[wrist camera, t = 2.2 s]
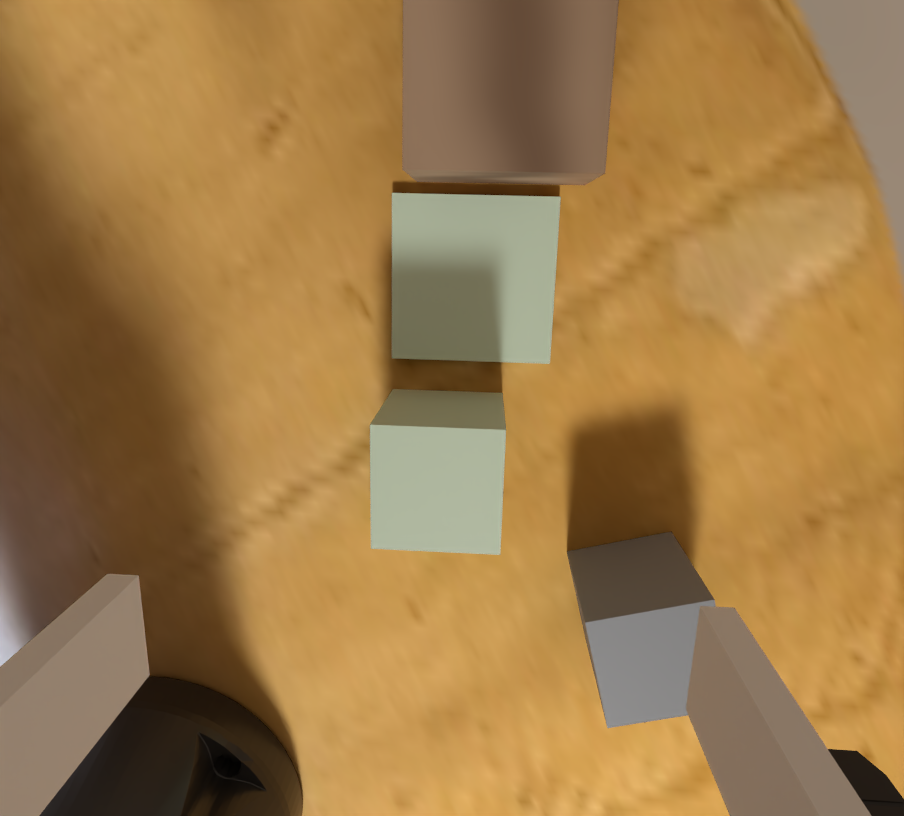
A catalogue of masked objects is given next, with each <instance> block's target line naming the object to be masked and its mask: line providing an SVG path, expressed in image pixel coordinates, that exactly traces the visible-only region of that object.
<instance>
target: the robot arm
mask: <svg viewBox="0 0 904 816" xmlns="http://www.w3.org/2000/svg"><path fill="white" fill-rule="evenodd" d="M149 675H150V673H149V664H148V655H147V646H146V637H145V628H144V619H143V610H142V601H141V592H140V582H139V575H123V574H106V575H105V576H104V577H103V578H102V579H101V580H100V581H98V582H97V583H96V584H95V585H94V586H93V587H92V588H90V589H89V590H88V591H87V592H86V593H85V594H83V595H82V596H81V597H80V598H79V599H78V600H77V601H75V602H74V603H73V604H72V605H71V606H70V607H69V608H67V609H66V610H65V611H64V612H63V613H62V614H60V615H59V616H58V617H57V618H56V619H55V620H54V621H52V622H51V623H50V624H49V625H48V626H47V627H46V628H44V629H43V630H42V631H41V632H40V633H39V634H37V635H36V636H35V637H34V638H33V639H32V640H31V641H29V642H28V643H27V644H26V645H25V646H24V647H23V648H21V649H20V650H19V651H18V652H17V653H16V654H14V655H13V656H12V657H11V658H10V659H9V660H8V661H6V662H5V663H4V664H3V665H2V666H1V667H0V816H302V794H301V788H300V784H299V780H298V777H297V774H296V771H295V768H294V766H293V764H292V762H291V760H290V758H289V756H288V754H287V753H286V751H285V749H284V748H283V746H282V745H281V743H280V742H279V741H278V739H277V738H276V737H275V736H274V735H273V733H272V732H271V731H270V730H269V729H268V728H267V727H266V726H265V725H264V724H263V723H262V722H261V721H260V720H259V719H258V718H256V717H255V716H254V715H253V714H252V713H250V712H249V711H248V710H246V709H245V708H244V707H242V706H241V705H239V704H238V703H236V702H234V701H233V700H231V699H229V698H227V697H225V696H223V695H221V694H219V693H217V692H215V691H213V690H210V689H208V688H205V687H202V686H200V685H197V684H193V683H190V682H186V681H181V680H177V679H170V678H162V677H149ZM686 711H687V713H688V715H689V718H690V720H691V723H692V725H693V727H694V730H695V732H696V735H697V737H698V740H699V742H700V744H701V747H702V749H703V752H704V754H705V756H706V759H707V761H708V764H709V766H710V769H711V771H712V773H713V776H714V778H715V781H716V783H717V785H718V788H719V790H720V793H721V795H722V798H723V800H724V802H725V805H726V807H727V810H728V812H729V814H730V816H904V799H903V798H902V796H901V795H900V793H899V792H898V791H897V789H896V788H895V787H894V785H893V784H892V783H891V781H890V780H889V779H888V777H887V776H886V775H885V774H884V773H883V772H882V771H880V770H879V769H878V768H877V767H876V766H874V765H873V764H872V763H871V762H870V761H868V760H867V759H866V758H865V757H863V756H862V755H861V754H860V753H859V752H857V751H848V750H833V749H827V748H826V746H825V744H824V743H823V741H822V740H821V738H820V737H819V735H818V734H817V732H816V731H815V729H814V728H813V726H812V725H811V723H810V722H809V720H808V719H807V717H806V716H805V714H804V713H803V711H802V710H801V708H800V707H799V705H798V704H797V702H796V700H795V699H794V697H793V696H792V694H791V693H790V691H789V690H788V688H787V687H786V685H785V684H784V682H783V681H782V679H781V678H780V676H779V675H778V673H777V672H776V670H775V669H774V667H773V666H772V664H771V663H770V661H769V660H768V658H767V657H766V655H765V653H764V652H763V650H762V649H761V647H760V646H759V644H758V643H757V641H756V640H755V638H754V637H753V635H752V634H751V632H750V631H749V629H748V628H747V626H746V625H745V623H744V622H743V620H742V619H741V617H740V616H739V614H738V613H737V611H736V609H735V608H729V607H711V606H700V610H699V617H698V624H697V631H696V638H695V645H694V653H693V660H692V667H691V674H690V681H689V688H688V696H687V703H686Z"/></svg>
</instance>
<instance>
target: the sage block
mask: <svg viewBox="0 0 904 816" xmlns="http://www.w3.org/2000/svg"><path fill="white" fill-rule="evenodd" d="M505 441H506V424H505V414H504V403H503V393H493V392H465V391H437V390H409V389H393V390H392V391H391V393H390V395H389V396H388V398H387V399H386V401H385V402H384V404H383V405H382V407H381V408H380V410H379V411H378V413H377V415H376V416H375V418H374V419H373V421H372V422H371V424H370V490H371V549H390V550H411V551H432V552H453V553H474V554H495V555H500V547H501V526H502V505H503V484H504V462H505Z"/></svg>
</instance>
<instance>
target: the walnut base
mask: <svg viewBox="0 0 904 816" xmlns="http://www.w3.org/2000/svg"><path fill="white" fill-rule="evenodd" d="M618 3H619V0H403V170H404V171H405V172H406V173H407V174H409V175H410V176H411V177H412V178H413V179H415V180H416V181H417V182H452V183H502V184H553V185H586V184H588V183H589V182H591V181H593V180H594V179H596V178H598V177H600V176H601V175H603V174H605V167H606V155H607V142H608V129H609V117H610V104H611V91H612V79H613V66H614V53H615V41H616V28H617V15H618Z"/></svg>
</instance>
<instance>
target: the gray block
mask: <svg viewBox="0 0 904 816" xmlns="http://www.w3.org/2000/svg"><path fill="white" fill-rule="evenodd" d="M567 555H568V559H569V564H570V569H571V573H572V578H573V582H574V587H575V592H576V596H577V601H578V606H579V610H580V615H581V620H582V624H583V629H584V634H585V638H586V643H587V647H588V651H589V655H590V659H591V663H592V667H593V671H594V675H595V679H596V683H597V687H598V691H599V695H600V699H601V703H602V707H603V711H604V716H605V720H606V724H607V728H611V727H617V726H623V725H630V724H636V723H642V722H648V721H655V720H661V719H667V718H673V717H680V716H686V715H688V713H687V711H686V703H687V696H688V688H689V681H690V674H691V667H692V660H693V653H694V645H695V638H696V631H697V624H698V617H699V610H700V606H711V607H715V600H714V598H713V597H712V595H711V593H710V592H709V590H708V589H707V587H706V586H705V584H704V582H703V581H702V579H701V578H700V576H699V574H698V573H697V571H696V570H695V568H694V567H693V565H692V563H691V562H690V560H689V559H688V557H687V556H686V554H685V552H684V551H683V549H682V548H681V546H680V544H679V543H678V541H677V540H676V538H675V537H674V535H673V533H672V532H667V533H661V534H656V535H651V536H646V537H640V538H635V539H630V540H625V541H619V542H614V543H609V544H604V545H598V546H593V547H588V548H583V549H577V550H572V551H567Z"/></svg>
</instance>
